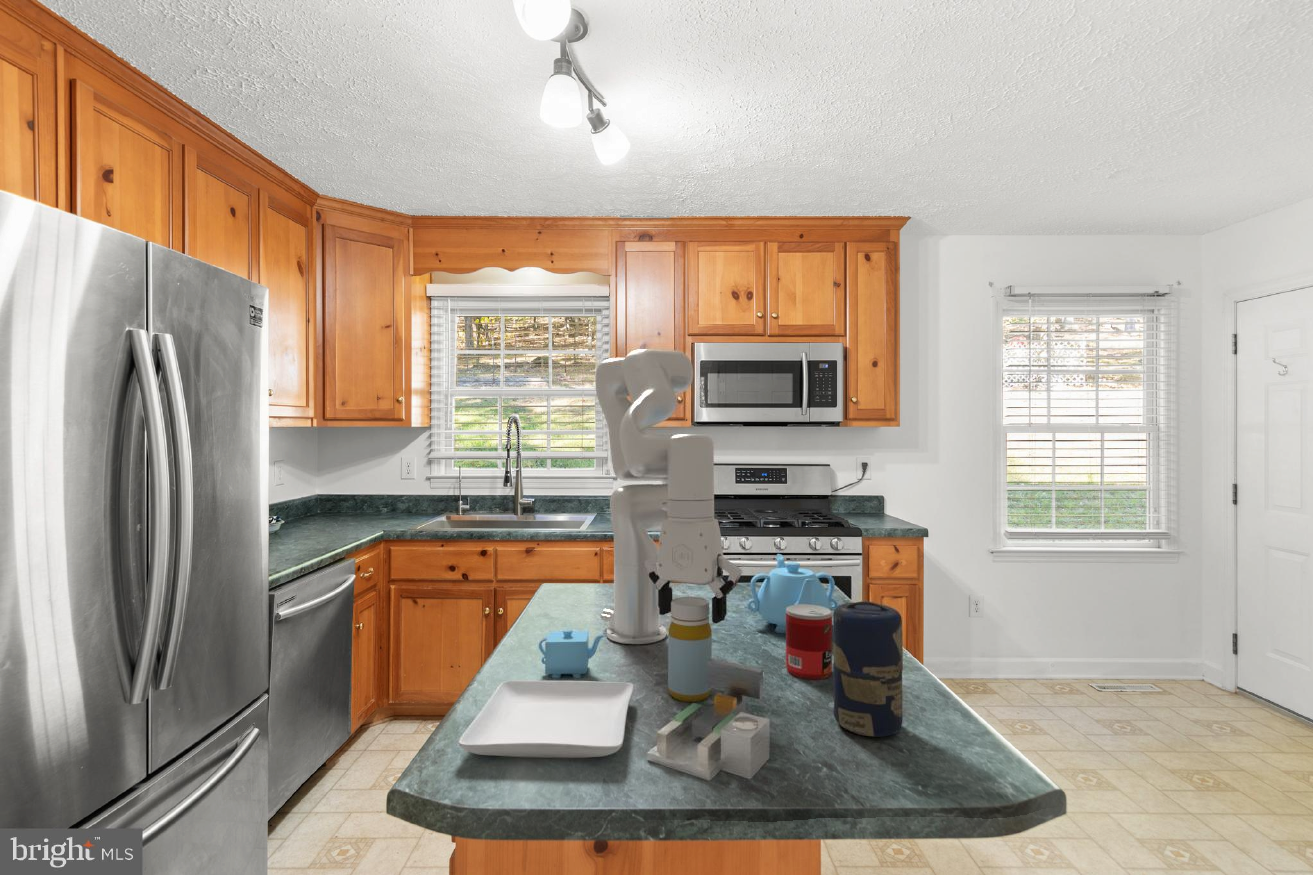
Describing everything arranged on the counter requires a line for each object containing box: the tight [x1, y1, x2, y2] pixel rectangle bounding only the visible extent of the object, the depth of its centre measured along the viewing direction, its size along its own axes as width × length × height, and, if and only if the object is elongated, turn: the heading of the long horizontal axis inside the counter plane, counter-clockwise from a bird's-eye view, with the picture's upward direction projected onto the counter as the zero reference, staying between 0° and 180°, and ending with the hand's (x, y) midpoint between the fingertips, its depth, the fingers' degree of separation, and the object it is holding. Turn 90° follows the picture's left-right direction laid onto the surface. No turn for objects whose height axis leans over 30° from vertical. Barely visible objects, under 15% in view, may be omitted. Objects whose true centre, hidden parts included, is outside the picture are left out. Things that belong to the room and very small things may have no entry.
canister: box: [832, 600, 904, 738], centre depth 89 cm, size 10×10×18 cm
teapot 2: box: [746, 553, 839, 634], centre depth 137 cm, size 16×20×14 cm
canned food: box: [785, 604, 833, 680], centre depth 110 cm, size 8×8×11 cm
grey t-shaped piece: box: [692, 658, 764, 739], centre depth 87 cm, size 8×11×7 cm
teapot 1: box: [538, 628, 607, 679], centre depth 109 cm, size 12×6×8 cm, turn 94°
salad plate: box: [458, 680, 635, 759], centre depth 88 cm, size 21×21×3 cm
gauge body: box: [646, 702, 770, 782], centre depth 81 cm, size 13×11×5 cm
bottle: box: [667, 596, 713, 703], centre depth 100 cm, size 7×7×15 cm
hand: (691, 617), depth 100 cm, fingers open, 9 cm apart
